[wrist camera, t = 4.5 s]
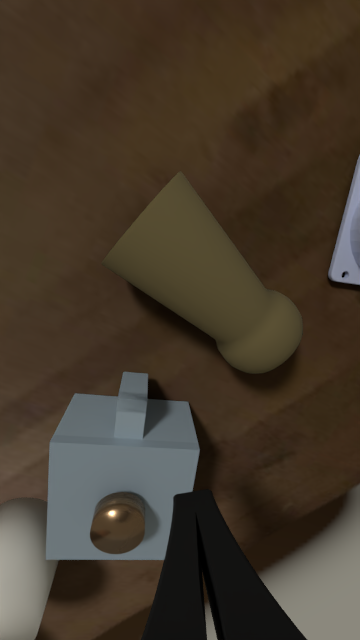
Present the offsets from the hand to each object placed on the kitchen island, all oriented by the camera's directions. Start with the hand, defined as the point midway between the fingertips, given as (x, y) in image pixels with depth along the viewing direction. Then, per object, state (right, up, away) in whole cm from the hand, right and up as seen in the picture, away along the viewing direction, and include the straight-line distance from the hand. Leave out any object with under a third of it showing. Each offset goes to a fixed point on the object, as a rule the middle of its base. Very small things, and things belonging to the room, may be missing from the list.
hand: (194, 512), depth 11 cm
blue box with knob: (-4, -1, +10) cm, 11 cm away
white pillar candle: (-12, -9, +12) cm, 19 cm away
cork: (-3, +12, +4) cm, 13 cm away
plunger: (-4, -2, +10) cm, 11 cm away
